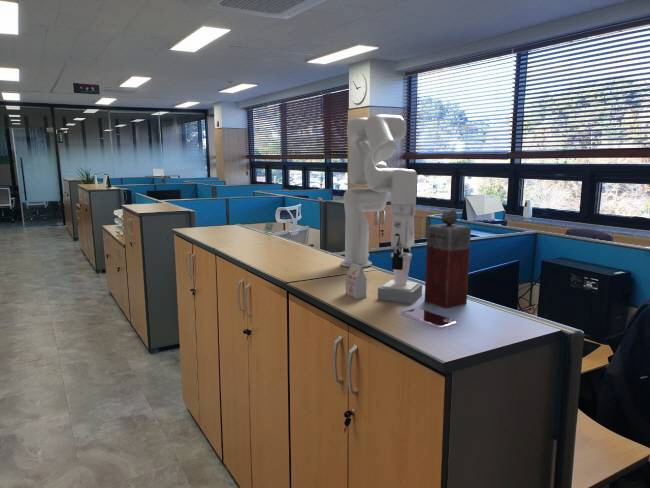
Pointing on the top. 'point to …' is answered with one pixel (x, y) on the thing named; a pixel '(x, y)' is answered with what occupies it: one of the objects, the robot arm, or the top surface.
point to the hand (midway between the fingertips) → (401, 266)
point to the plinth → (400, 292)
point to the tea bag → (356, 282)
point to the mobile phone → (429, 318)
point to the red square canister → (447, 262)
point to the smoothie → (402, 275)
